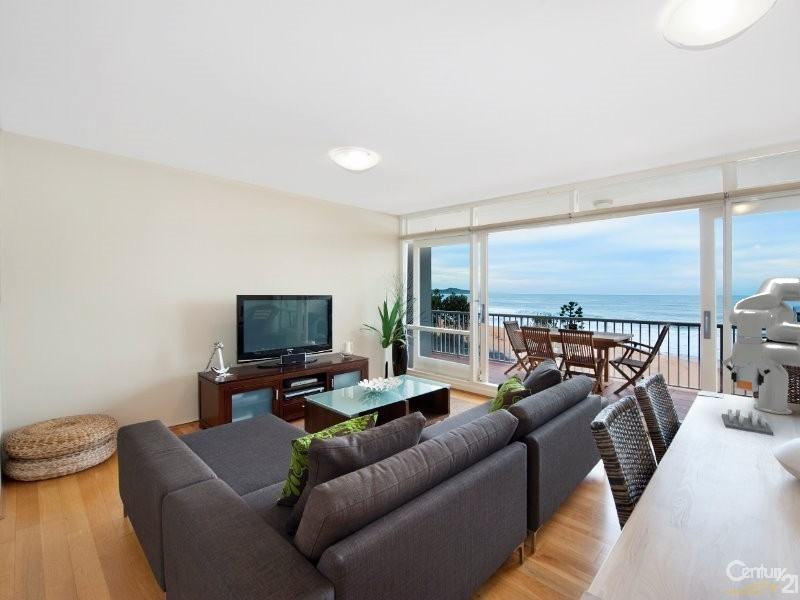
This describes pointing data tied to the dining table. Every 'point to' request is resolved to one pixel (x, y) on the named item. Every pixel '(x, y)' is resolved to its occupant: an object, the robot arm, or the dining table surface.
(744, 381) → the skincare box
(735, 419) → the peg board
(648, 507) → the dining table surface
